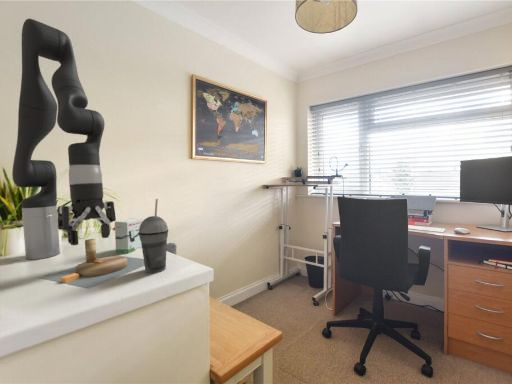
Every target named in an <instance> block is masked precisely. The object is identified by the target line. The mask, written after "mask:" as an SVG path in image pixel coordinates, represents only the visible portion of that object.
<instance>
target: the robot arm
mask: <svg viewBox="0 0 512 384" xmlns="http://www.w3.org/2000/svg"><path fill="white" fill-rule="evenodd" d="M74 53H75V52H74V48H73V45H72V41H71V39H70V37H69V35H68V34H67V33H65V32H64V31H62V30H61V29H58V28H55V27H53V26H51V25H48V24H45V23H43V22H41V21H38V20H36V19H32V18H26V19H25V21H24V22H23V24H22V29H21V83H20V90H19V91H20V92H19V93H20V94H19V100H18V114H17V117H18V118H17V119H18V120H17V138H16V139H17V140H16V145H15V152H14V158H13V163H12V173H11V174H12V175H11V176H12V181H13V183H14V185H15V186H16V187H19V188H40V190H39V192H37V193H35V194H34V195H31V196H28V197H25V198H23V199H22V200H21V203H20V204H21V215H22V217H21V218H22V226H23V227H22V228H23V238H24V239H23V241H24V253H25V260H40V259H46V258H51V257H54V256H58V255H60V253H61V248H60V234H59V233H60V232H59V230H62V231H66V232H67V241H68V244H70V245H71V246H78V245H79V234H78V230H77V229H78V228H79V226H80V225H81V224H82V223H83V222H84V221H87V220H88V221H89V220H92V219H93V220H97V221H99V223H100V235H101V238H103V239H108V238H109V237H110V234H111V229H110V225H111V223H113V222H116V220H117V218H116V217H117V216H116V210H115V203H114V201H113V200H112V201H103V198H104V185H103V174H102V170H101V160H100V157H101V156H100V147H101V143H102V138H103V134H104V131H105V124H106V123H105V120H104V117H103V115H102V114H101V113H100V112H99V111H96V110H93V109H88V108H87V107H88V103H89V101H88V96H87V94H86V93H85V90H84V87H83V86H82V85H83V84H82V83H81V80H80V77H79V73H78V69H77V63H76V62H77V61H76V59H75V54H74ZM39 57H41V58H44V59H47V60H51V61H53V62H58V63H59V64H60V66H59V67H58V68H56V70H55V71H54V72H53V74H52V76H51V87H52V90H53V93H54V94H55V95H54V94H53V93H52V91H51V90H50V88H49V86H48V85H47V83H46V81H45V79H44V77H43V75H42V72H41V68H40V61H39ZM54 96H55V97H56V99H55V97H54ZM56 124H57V125H58V127H59V128H60V129H61V131H63V132H64V133H67V134H72V135H80V136H86V140H85V141H82V142H75V143H71V144H69V145H68V148H67V149H68V150H67V154H68V165H69V167H68V182H69V183H68V184H69V185H68V186H69V196H70V200H71V204H70V205H60V206H59V205H58V207H57V196H58V191H57V190H58V189H57V186H58V185H57V180H58V179H57V169H56V165H55V164H54V163H53V161H51V160H44V159H32V156H33V154H34V151H35V149H36V148H37V146H38V145H39V144H40V143H41V142H42V141H43V140H44V139H45V138H46V137H47V136H48V135H49V134H50V133H51V132H52V130H53V129H54V128H55V127H56ZM103 210H105V212H104V211H103ZM71 212H72V214H73V215H72V216H71V218H70V214H71Z"/></svg>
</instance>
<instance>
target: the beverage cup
mask: <svg viewBox="0 0 512 384" xmlns="http://www.w3.org/2000/svg"><path fill="white" fill-rule="evenodd" d="M158 201H159V198H156V199H155V204H154V205H155V207H154V215H153V216H148V217H146V218H144V219H143V222H142V223H141V225H140V227H139V233H138V234H139V237H140V241H141V244H142V248H141V249H142V255H143V257H142V258H143V259H144V264H145V266H144V269H145V273H147V274H157V273H161V272H164V271H165V270H166V268H167V267H166V266H167V243H168V237H169V236H168V235H169V228H168V224H167V222H166V221H165V219H164V218H162V217H160V216H157V215H158Z"/></svg>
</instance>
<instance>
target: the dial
mask: <svg viewBox="0 0 512 384" xmlns="http://www.w3.org/2000/svg"><path fill="white" fill-rule="evenodd" d="M84 248H85V261H84V262H83V261H82V262H80V263H81V264H79V263H78V264H79V265H78V264H77V265H75V266H76V267H75V266H74V267H75V273H76V274H79V276H80V277H95V276H101V275H106V274H110V273H114V272H117V271H119V270H122V269H124V268H125V267H126V266H127V258H125V257H126V256H125V257H121V256H122V255H117V256H112V257H107V256H104V257H98V258H97V248H96V239H95V238H90V239H85V240H84Z"/></svg>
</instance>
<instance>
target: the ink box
mask: <svg viewBox="0 0 512 384" xmlns="http://www.w3.org/2000/svg"><path fill="white" fill-rule="evenodd" d="M143 220H144V219H143V218H128V219H123V220H117V221H116V220H115V221H114V235H115V237H114V238H115V253H116V254H124V255H127V254H131V253H133V252H136V251H138V250H139V249H142V244H141V241H140V237H139V234H138V233H139V227H140V225H141V223H142V222H143Z"/></svg>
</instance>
